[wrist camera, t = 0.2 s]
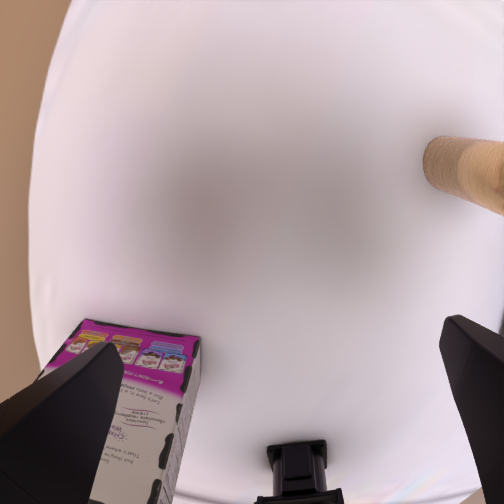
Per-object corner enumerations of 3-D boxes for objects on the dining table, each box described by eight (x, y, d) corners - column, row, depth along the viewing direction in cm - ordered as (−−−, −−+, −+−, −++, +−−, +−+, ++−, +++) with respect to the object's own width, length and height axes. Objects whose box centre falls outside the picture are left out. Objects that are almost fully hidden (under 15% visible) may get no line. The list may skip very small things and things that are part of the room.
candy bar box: (93, 359, 27) (13, 490, 11) (83, 317, 25) (-23, 451, 9) (204, 379, 26) (164, 550, 11) (203, 335, 25) (147, 527, 9)
